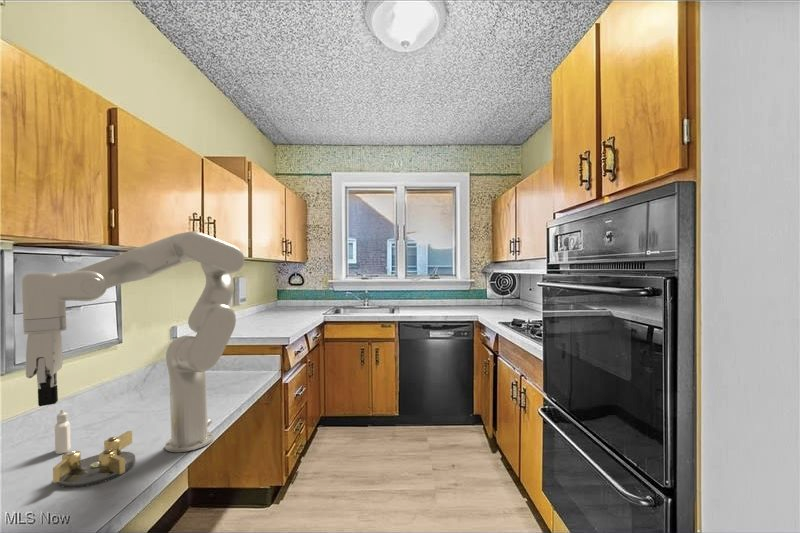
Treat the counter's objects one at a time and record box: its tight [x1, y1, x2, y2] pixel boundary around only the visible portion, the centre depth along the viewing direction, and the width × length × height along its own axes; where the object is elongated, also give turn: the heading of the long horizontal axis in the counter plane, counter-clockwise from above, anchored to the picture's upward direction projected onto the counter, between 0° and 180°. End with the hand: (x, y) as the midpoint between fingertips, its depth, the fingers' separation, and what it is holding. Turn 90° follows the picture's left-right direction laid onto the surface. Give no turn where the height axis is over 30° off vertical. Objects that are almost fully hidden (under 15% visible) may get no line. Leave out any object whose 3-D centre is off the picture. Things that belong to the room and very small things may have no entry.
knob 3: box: [98, 449, 126, 475], centre depth 100 cm, size 9×4×5 cm, turn 60°
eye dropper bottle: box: [54, 408, 72, 455], centre depth 117 cm, size 4×6×12 cm
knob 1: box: [52, 449, 82, 484], centre depth 99 cm, size 9×4×5 cm, turn 16°
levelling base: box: [56, 451, 136, 488], centre depth 104 cm, size 16×16×2 cm
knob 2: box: [103, 430, 133, 455], centre depth 112 cm, size 9×4×5 cm, turn 0°
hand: (48, 404), depth 94 cm, fingers closed
